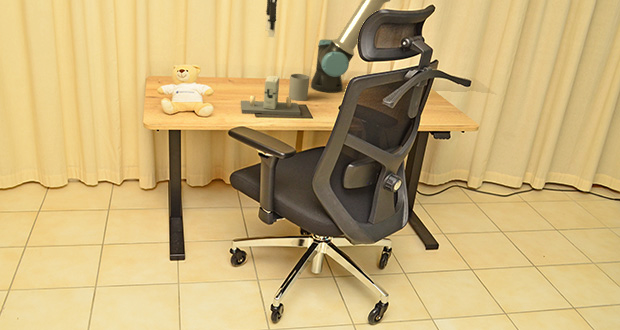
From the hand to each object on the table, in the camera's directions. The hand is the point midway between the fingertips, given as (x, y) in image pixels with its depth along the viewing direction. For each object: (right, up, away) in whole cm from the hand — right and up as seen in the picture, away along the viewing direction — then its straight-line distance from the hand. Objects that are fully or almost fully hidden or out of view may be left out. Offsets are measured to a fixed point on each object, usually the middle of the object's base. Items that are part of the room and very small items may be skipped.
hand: (269, 33), depth 263 cm
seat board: (+1, -34, -11) cm, 36 cm away
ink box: (+1, -33, -12) cm, 35 cm away
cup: (+12, -27, +8) cm, 31 cm away
